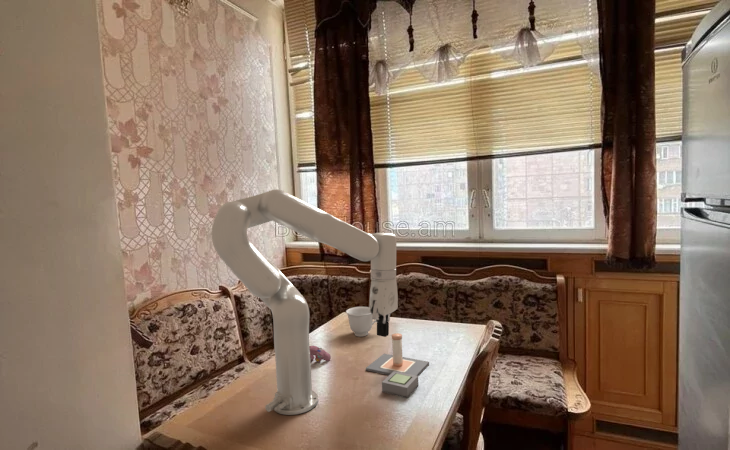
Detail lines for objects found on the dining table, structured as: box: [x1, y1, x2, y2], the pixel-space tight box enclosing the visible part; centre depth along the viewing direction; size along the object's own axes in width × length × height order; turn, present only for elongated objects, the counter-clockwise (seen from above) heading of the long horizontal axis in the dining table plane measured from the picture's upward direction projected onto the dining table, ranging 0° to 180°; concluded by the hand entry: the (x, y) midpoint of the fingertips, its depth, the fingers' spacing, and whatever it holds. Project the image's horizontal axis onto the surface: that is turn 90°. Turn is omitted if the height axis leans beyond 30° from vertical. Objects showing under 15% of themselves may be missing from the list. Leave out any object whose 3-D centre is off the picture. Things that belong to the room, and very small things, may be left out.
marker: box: [391, 332, 403, 367], centre depth 130 cm, size 3×3×10 cm
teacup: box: [345, 306, 377, 338], centre depth 163 cm, size 12×15×10 cm
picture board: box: [365, 353, 430, 377], centre depth 131 cm, size 13×17×1 cm
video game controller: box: [309, 345, 332, 363], centre depth 138 cm, size 10×5×7 cm, turn 64°
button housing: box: [381, 371, 419, 399], centre depth 116 cm, size 8×8×3 cm
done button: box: [389, 374, 411, 385], centre depth 116 cm, size 5×5×2 cm
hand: (382, 335), depth 118 cm, fingers closed
